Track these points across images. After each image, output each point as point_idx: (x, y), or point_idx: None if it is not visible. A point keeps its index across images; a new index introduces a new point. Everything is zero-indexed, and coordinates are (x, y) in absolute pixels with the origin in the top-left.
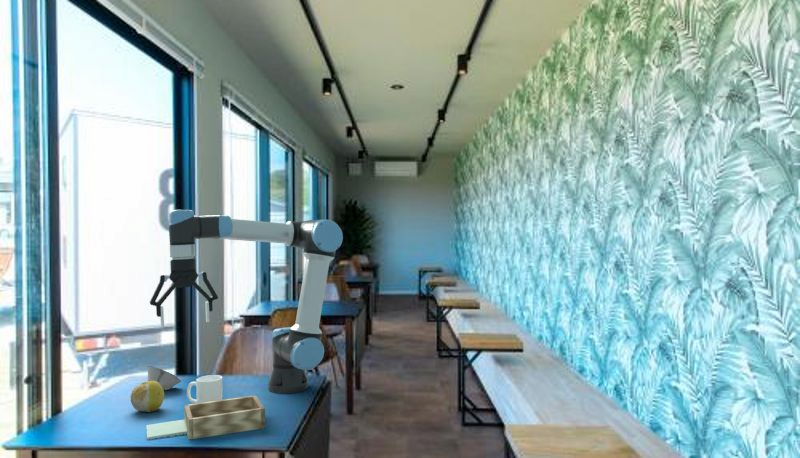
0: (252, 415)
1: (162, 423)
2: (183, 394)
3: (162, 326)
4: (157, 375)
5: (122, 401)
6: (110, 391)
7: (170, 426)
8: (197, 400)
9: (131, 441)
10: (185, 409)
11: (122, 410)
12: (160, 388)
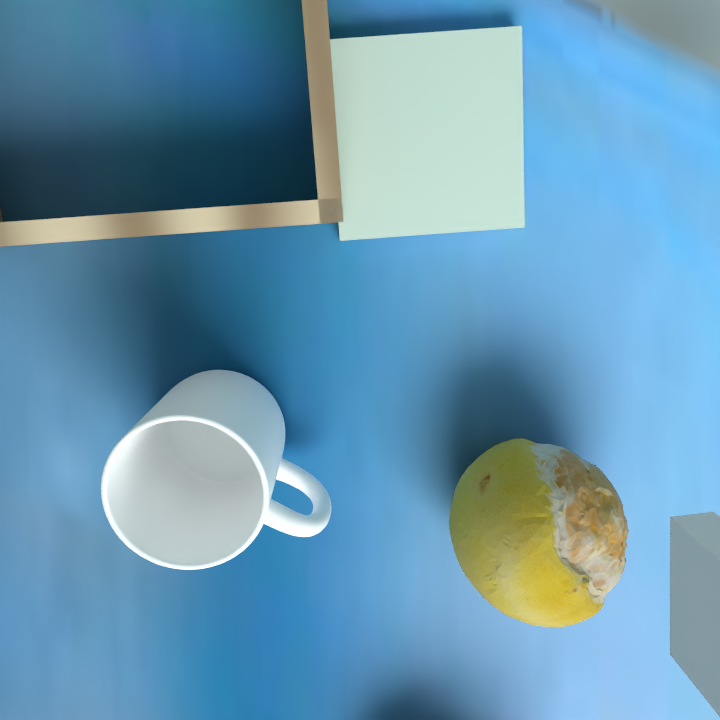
0: None
1: (449, 219)
2: (350, 696)
3: (707, 520)
4: None
5: (624, 689)
6: None
7: (411, 153)
8: (276, 424)
9: (584, 70)
10: (336, 133)
11: None
12: (479, 519)
